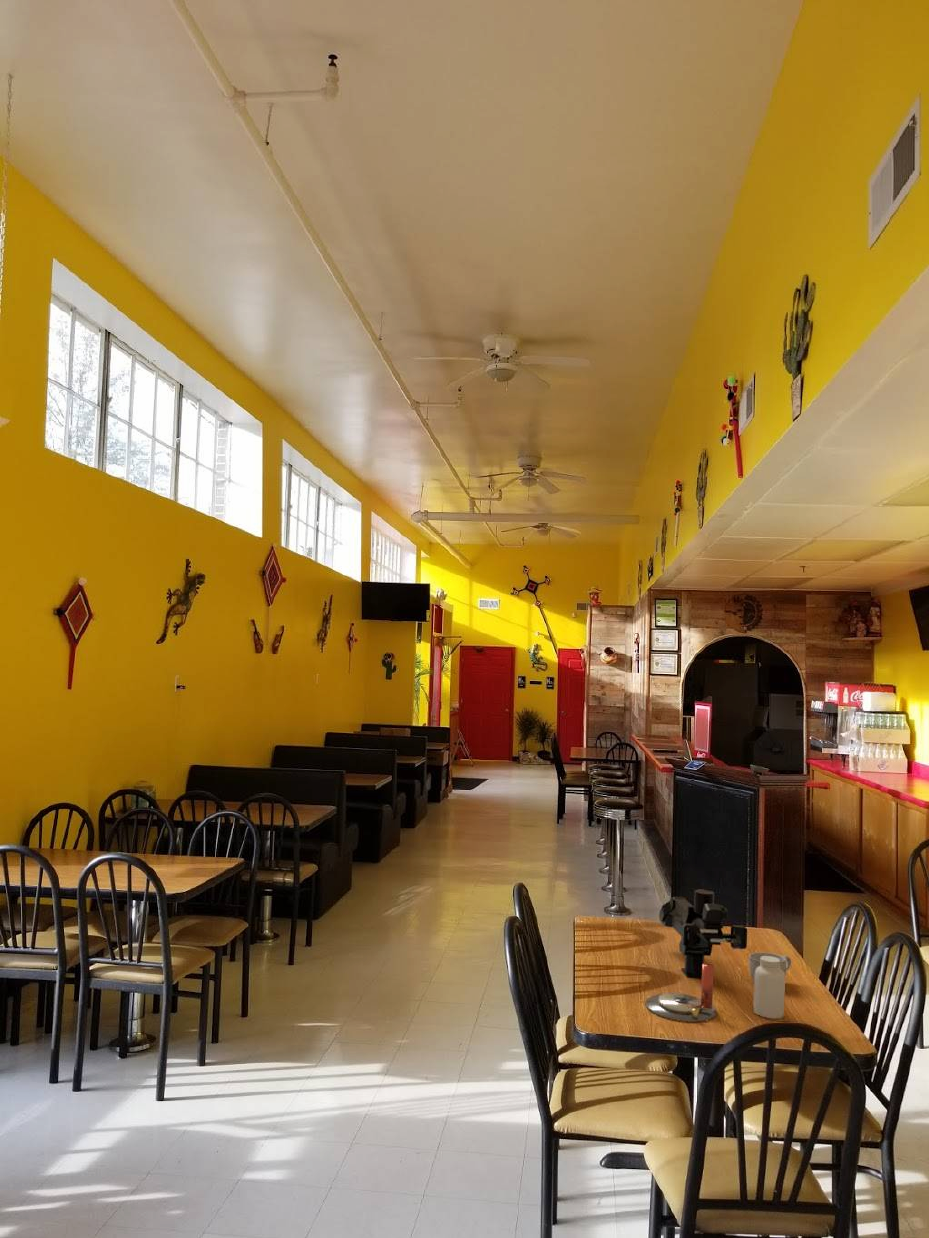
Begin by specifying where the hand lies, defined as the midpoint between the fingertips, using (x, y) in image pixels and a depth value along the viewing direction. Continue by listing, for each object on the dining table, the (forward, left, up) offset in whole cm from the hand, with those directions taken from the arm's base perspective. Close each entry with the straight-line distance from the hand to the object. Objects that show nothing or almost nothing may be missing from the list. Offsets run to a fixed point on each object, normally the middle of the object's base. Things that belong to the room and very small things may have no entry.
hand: (724, 945), depth 254 cm
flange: (+4, -12, -16) cm, 20 cm away
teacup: (-19, +22, -17) cm, 34 cm away
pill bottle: (+6, +11, -17) cm, 21 cm away
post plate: (+4, -13, -17) cm, 21 cm away
